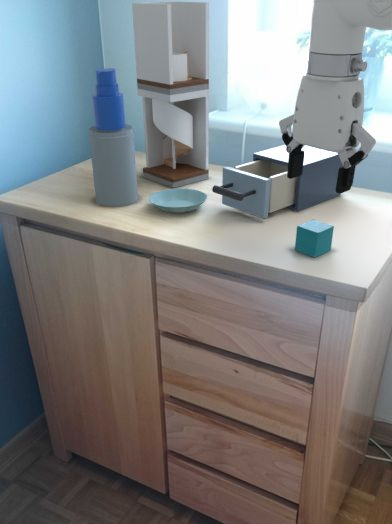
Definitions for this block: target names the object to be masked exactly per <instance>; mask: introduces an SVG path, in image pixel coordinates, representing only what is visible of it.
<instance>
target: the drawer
mask: <svg viewBox="0 0 392 524" xmlns="http://www.w3.org/2000/svg"><path fill="white" fill-rule="evenodd" d="M287 173H288V166H284V165H280V164H277V163H273V162H269V161H265V160H261V159H260V160H257V161H253V160H252V161H251V162H247V163H243V164H239V165H236V166H234V167H229V166H224V167H222V185H217V184H214V185H213V186H212V188H211V190H212V192H213V194H217V195H220V196H221V204H222V205H224V206H227V207H230V208H234V209H236V210H238V211H241V212H244V213H248V214H250V215H252V216H255V217H258V218H262V219H266V218H268V217H269V213H270V214H271V213H273V212H276V211H279V210H281V209H285V208H284V207H287V206H290V205H292V204H295V198H296V187H297V177H295V178H292V179H289V178H287Z"/></svg>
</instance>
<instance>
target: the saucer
mask: <svg viewBox="0 0 392 524" xmlns="http://www.w3.org/2000/svg"><path fill="white" fill-rule="evenodd" d="M207 199H208V195H207V194H206V193H205V192H203V191H200V190H198V189H192V188H168V189H163V190H159V191H156V192H154V193H152V194H150V195H149V197H148V201H149V202H150V203H151V204H152V205H153V206H154V207H156V208H157V209H159V210H160V211H163V212H166V213H170V214H185V213H189V212H191V211H194V210H196V209H198V208H199V207H201V206H202V205H203V204H205V202H206V201H207Z"/></svg>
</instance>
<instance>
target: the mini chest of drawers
mask: <svg viewBox="0 0 392 524" xmlns="http://www.w3.org/2000/svg"><path fill="white" fill-rule="evenodd" d="M301 150H302V151H304V163H303V172H302V175H301V176H298V177H297V187H296V198H295V204H292V205H290V206H287V207H284V208H283V209H287V210H290V211H294V212H296V213H298V212H301V211H303V210H306V209H308V208H311V207H313V206H317V205H319V204H322V203H324V202H327V201H329V200H332V199H334V198H337V197H340V196H341V195H342V193H341V194H339V193H336V184H337V178H338V171H339V168H340V167H342V166H343V165H342V162H341V160H340V158H339V156H338V154H337V152H331V151H326V150H322V149H318V148H314V147H310V146H306V145H305V146H304V147H303V148H302V149H301ZM260 159H261V160H265V161H269V162H273V163H277V164H280V165H284V166H288V159H289V153H287V151H286V145H285V144H282V145H279V146H276V147H272V148H269V149H264V150H260V151H257V152H254V153H252V162H253V161H257V160H260Z"/></svg>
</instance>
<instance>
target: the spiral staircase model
mask: <svg viewBox="0 0 392 524" xmlns="http://www.w3.org/2000/svg"><path fill="white" fill-rule="evenodd" d="M131 5H132V7H131V8H132V24H133V38H134V39H133V40H134V55H135V69H136V70H135V71H136V85H137V86H136V87H137V96H138V97H141V98H142V115H143V131H144V147H145V165H146V166H145V167H142V177H143V178H145V179H148V180H150V181H153V182H156V183H159V184H161V185H164V186H166V187H169V188H171V189H176V188H179V187H182V186H187V185H190V184H192V183H197V182H200V181H201V182H202V181H203V180H208V179H209V178H210V176H209V173H210V172H209V171H210V167H209V166H210V163H209V162H210V161H209V160H210V152H209V151H210V128H209V127H210V126H209V125H210V2H207V1H204V2H202V1H180V0H179V1H178V0H177V1H175V0H172V1H169V0H168V1H149V2H147V1H146V2H145V1H144V2H132V3H131Z"/></svg>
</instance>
